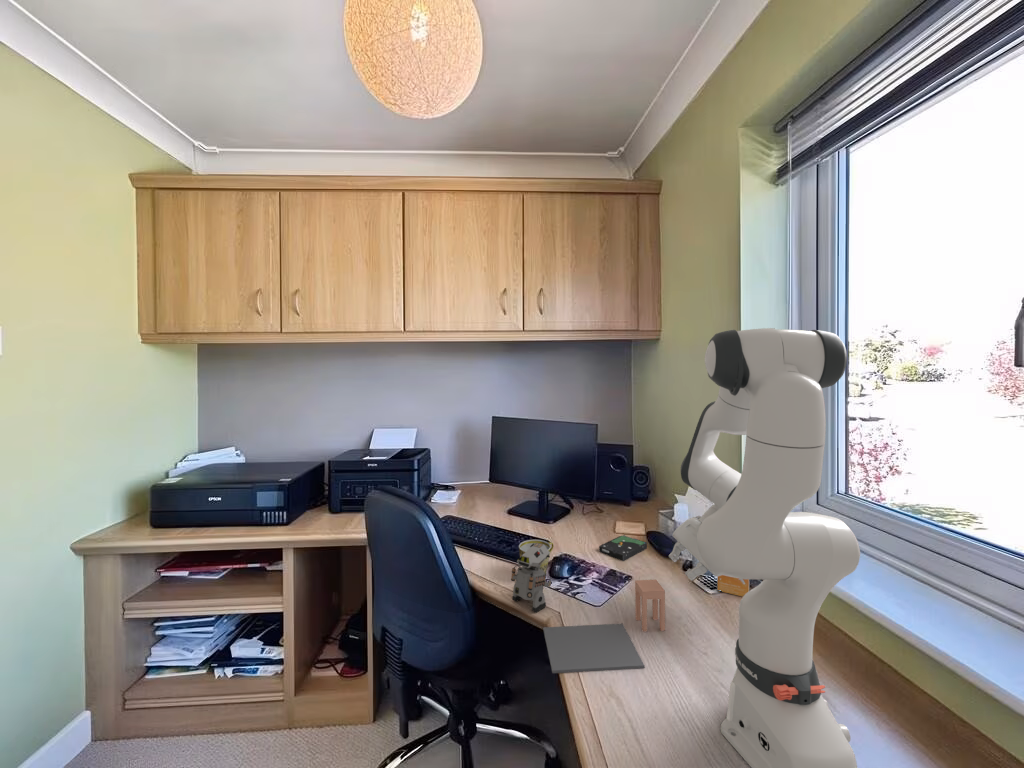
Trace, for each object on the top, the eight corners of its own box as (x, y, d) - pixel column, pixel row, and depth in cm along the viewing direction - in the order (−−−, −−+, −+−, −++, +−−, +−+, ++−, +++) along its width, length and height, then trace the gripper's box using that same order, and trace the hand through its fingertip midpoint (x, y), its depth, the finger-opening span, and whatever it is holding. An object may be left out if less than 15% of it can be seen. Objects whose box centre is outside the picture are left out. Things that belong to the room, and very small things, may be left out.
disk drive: (624, 563, 141) (647, 549, 151) (624, 555, 141) (647, 541, 151) (598, 553, 149) (622, 541, 159) (598, 545, 148) (622, 533, 158)
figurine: (559, 599, 119) (559, 547, 118) (531, 616, 111) (530, 560, 110) (536, 587, 125) (535, 537, 125) (507, 602, 117) (506, 549, 117)
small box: (717, 591, 121) (717, 547, 121) (718, 581, 127) (718, 538, 126) (749, 598, 117) (749, 552, 117) (749, 588, 123) (749, 544, 122)
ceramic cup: (534, 589, 124) (533, 556, 124) (512, 576, 132) (511, 545, 131) (564, 575, 132) (564, 543, 132) (542, 564, 140) (542, 534, 140)
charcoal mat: (644, 668, 91) (644, 665, 91) (552, 673, 90) (552, 670, 90) (622, 625, 106) (622, 623, 106) (543, 629, 105) (543, 627, 105)
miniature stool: (665, 630, 104) (664, 590, 103) (643, 631, 104) (642, 591, 103) (656, 617, 109) (656, 579, 109) (635, 618, 109) (635, 580, 109)
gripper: (689, 506, 117) (654, 542, 117) (731, 536, 96) (689, 579, 96) (705, 521, 117) (670, 557, 117) (750, 554, 97) (708, 598, 97)
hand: (679, 567), depth 106 cm, fingers open, 8 cm apart
